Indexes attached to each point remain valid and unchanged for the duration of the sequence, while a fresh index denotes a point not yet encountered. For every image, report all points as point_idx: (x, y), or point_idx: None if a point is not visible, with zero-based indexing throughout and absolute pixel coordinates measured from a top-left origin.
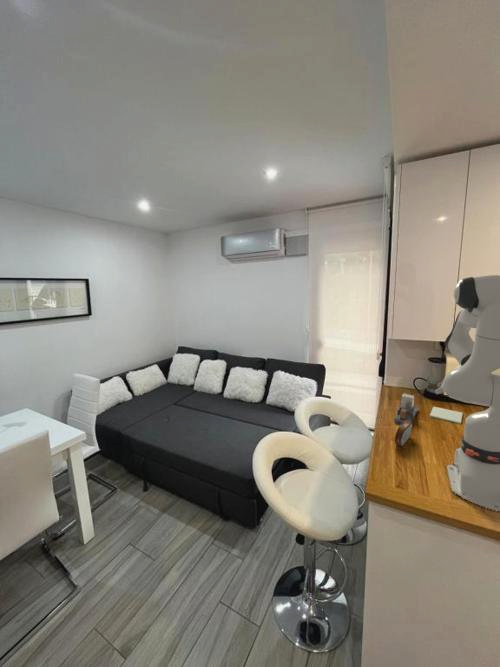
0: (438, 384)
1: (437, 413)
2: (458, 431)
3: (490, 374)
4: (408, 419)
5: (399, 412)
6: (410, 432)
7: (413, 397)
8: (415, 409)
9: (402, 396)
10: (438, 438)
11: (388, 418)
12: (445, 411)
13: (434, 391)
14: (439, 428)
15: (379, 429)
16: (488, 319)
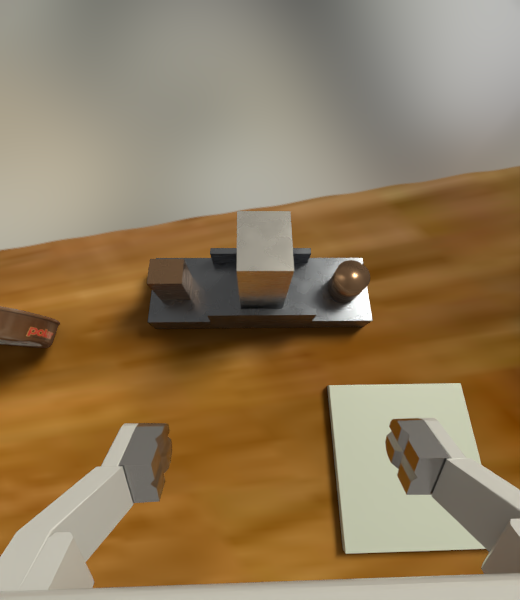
0: (414, 437)
1: (379, 416)
2: (234, 545)
3: None
4: (172, 311)
5: (231, 263)
6: (38, 344)
7: (270, 273)
8: (287, 316)
9: (238, 217)
10: (96, 460)
11: (190, 243)
12: None
13: (125, 425)
14: (213, 449)
15: (68, 240)
16: None
